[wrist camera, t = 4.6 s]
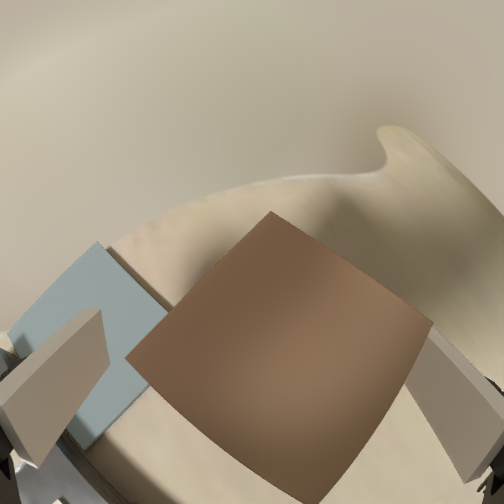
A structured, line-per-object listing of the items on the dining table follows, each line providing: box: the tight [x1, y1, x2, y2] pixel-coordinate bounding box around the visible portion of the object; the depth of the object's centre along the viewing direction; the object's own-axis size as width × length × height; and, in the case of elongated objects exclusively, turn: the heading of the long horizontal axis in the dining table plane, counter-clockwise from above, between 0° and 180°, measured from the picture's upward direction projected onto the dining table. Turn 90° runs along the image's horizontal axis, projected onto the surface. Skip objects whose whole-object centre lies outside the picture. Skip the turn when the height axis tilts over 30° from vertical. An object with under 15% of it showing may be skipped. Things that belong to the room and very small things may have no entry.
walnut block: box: [125, 211, 433, 504], centre depth 11 cm, size 5×5×11 cm
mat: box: [7, 242, 168, 450], centre depth 16 cm, size 10×10×1 cm
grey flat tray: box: [0, 348, 130, 504], centre depth 8 cm, size 17×12×5 cm
